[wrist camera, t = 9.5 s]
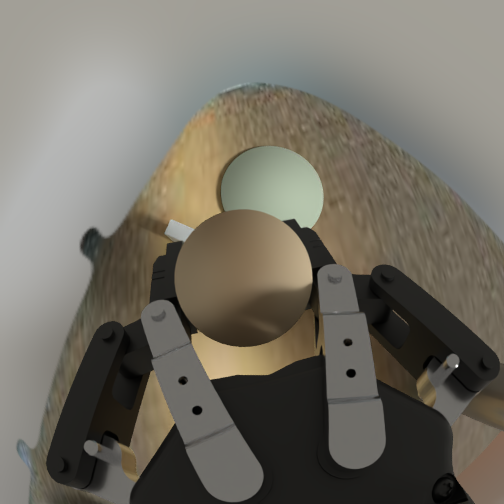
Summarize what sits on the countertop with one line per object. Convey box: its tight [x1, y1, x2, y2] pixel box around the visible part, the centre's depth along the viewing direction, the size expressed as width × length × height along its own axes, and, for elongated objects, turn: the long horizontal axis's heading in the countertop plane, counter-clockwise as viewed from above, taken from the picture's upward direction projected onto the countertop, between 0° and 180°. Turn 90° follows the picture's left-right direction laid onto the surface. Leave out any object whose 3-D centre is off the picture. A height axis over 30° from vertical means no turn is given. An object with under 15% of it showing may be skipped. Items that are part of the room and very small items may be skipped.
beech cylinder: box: [175, 209, 312, 347], centre depth 13 cm, size 4×4×8 cm
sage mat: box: [221, 146, 323, 229], centre depth 32 cm, size 12×12×1 cm
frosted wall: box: [164, 219, 195, 242], centre depth 28 cm, size 16×2×5 cm, turn 68°
